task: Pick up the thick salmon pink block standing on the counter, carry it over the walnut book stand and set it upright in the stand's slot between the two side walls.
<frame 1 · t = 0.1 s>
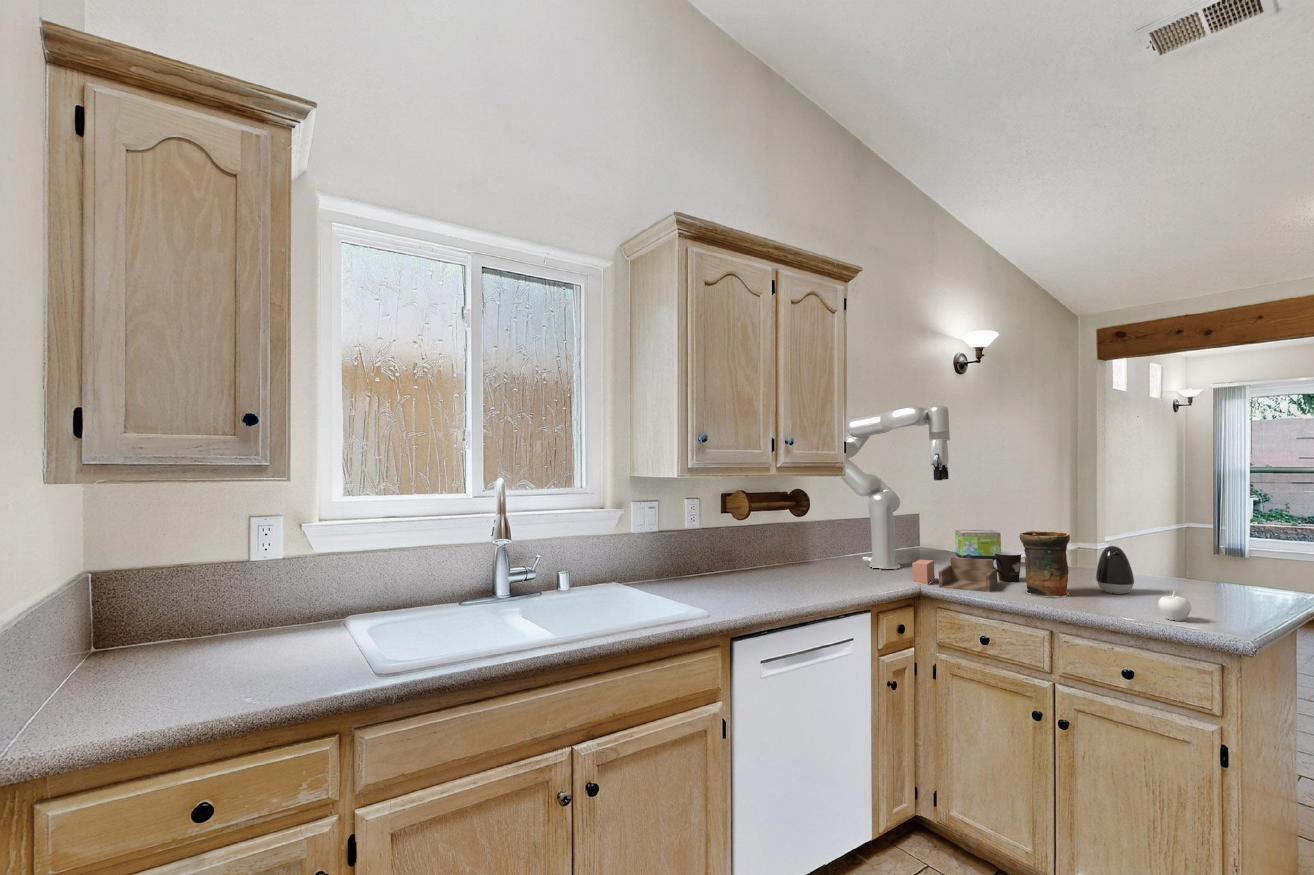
hand: (941, 479, 253), 37 cm above the worktop, tool pointing down, fingers open, 9 cm apart
tea box: (978, 566, 263), on the worktop
salmon pink block: (924, 582, 233), on the worktop
black rounded egg shape: (1115, 593, 208), on the worktop
book stand: (968, 585, 224), on the worktop
coffee mug: (1004, 581, 232), on the worktop
vessel: (1047, 594, 209), on the worktop
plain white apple: (1175, 620, 173), on the worktop
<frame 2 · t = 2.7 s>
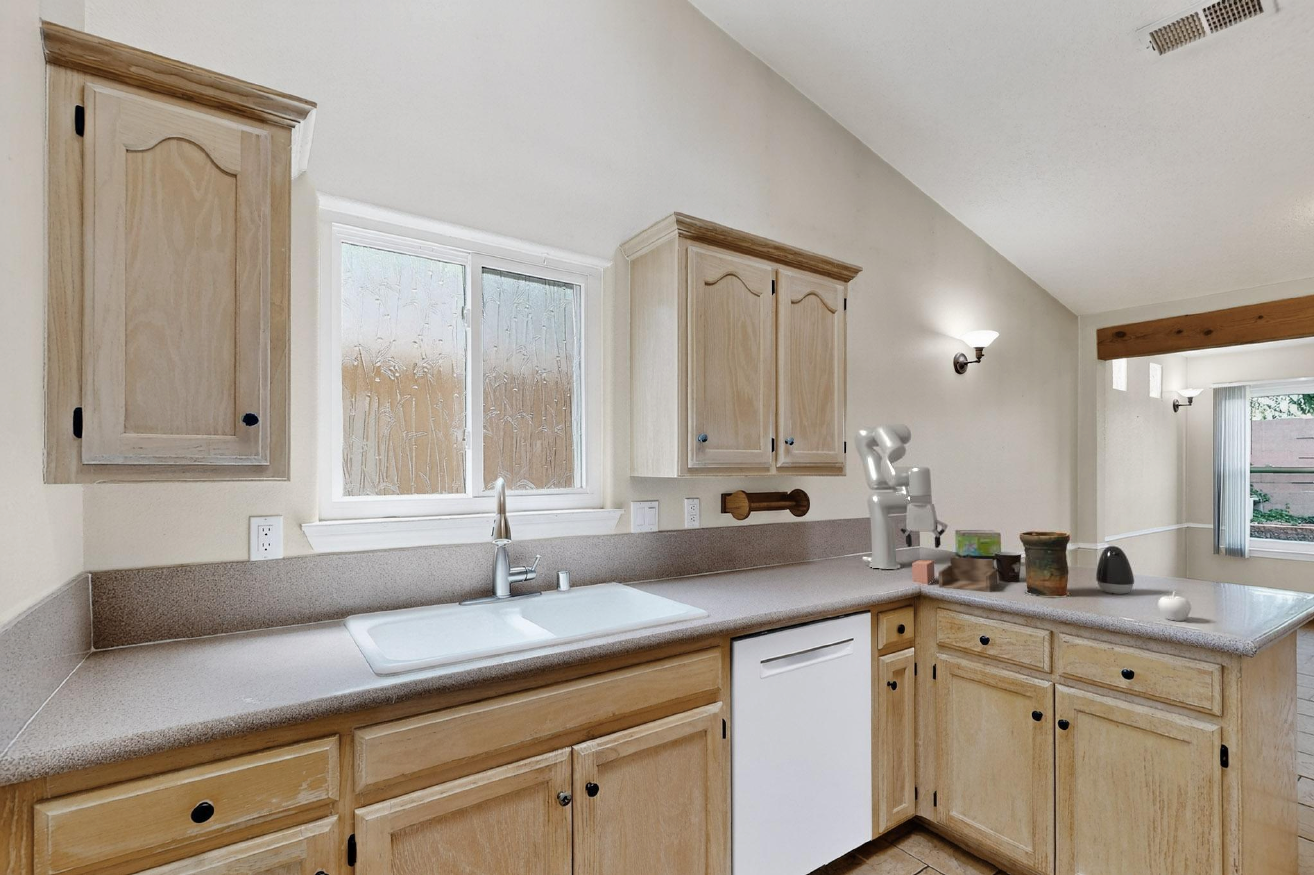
hand: (923, 546, 233), 13 cm above the worktop, tool pointing down, fingers open, 9 cm apart
nothing on the worktop moved.
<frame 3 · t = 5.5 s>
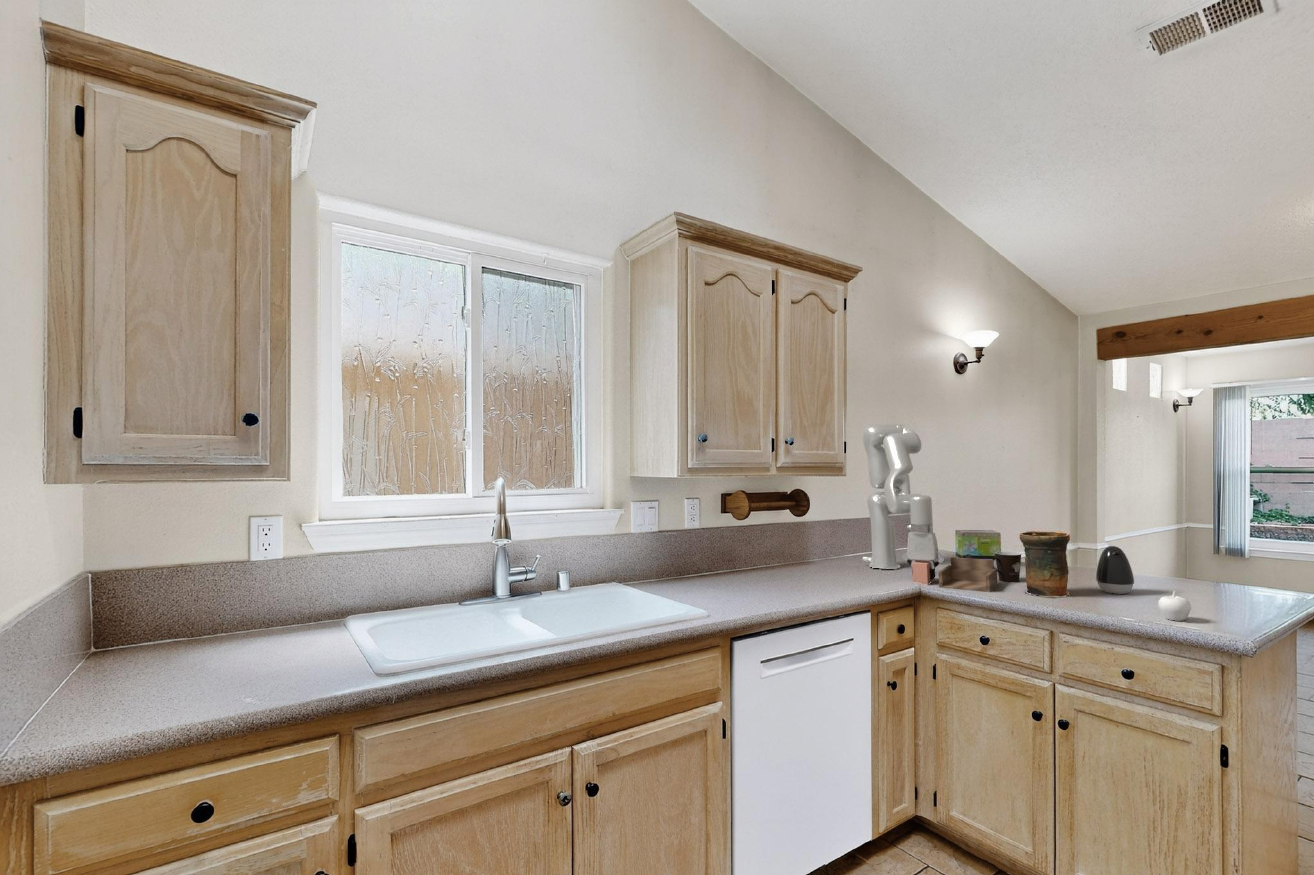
hand: (923, 577, 233), 1 cm above the worktop, tool pointing down, fingers closed on salmon pink block, 5 cm apart
salmon pink block: (924, 582, 233), on the worktop, touching gripper
everything else where it was.
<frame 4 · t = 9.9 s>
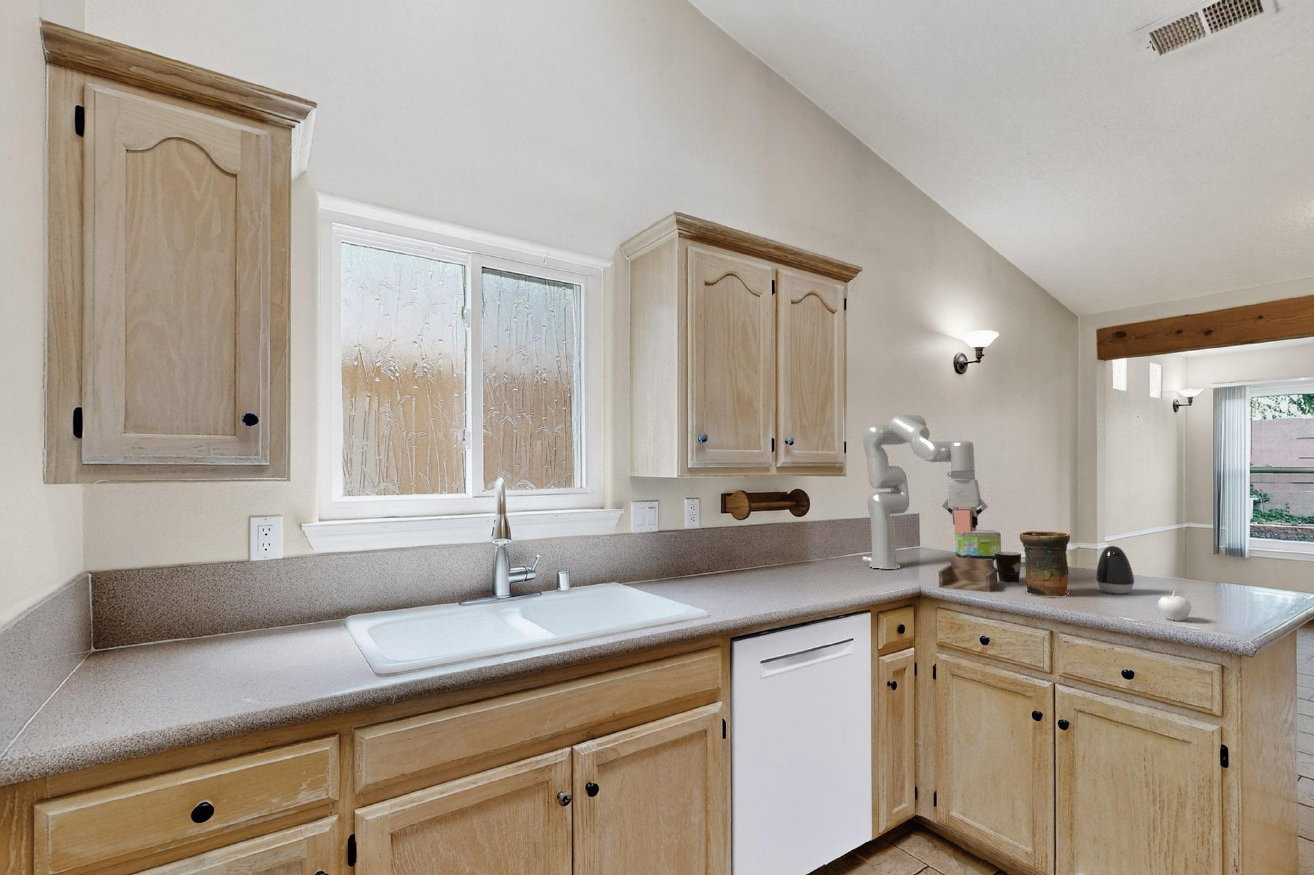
hand: (965, 526, 225), 21 cm above the worktop, tool pointing down, fingers closed on salmon pink block, 4 cm apart
salmon pink block: (965, 530, 225), point 19 cm above the worktop, touching gripper
everything else where it was.
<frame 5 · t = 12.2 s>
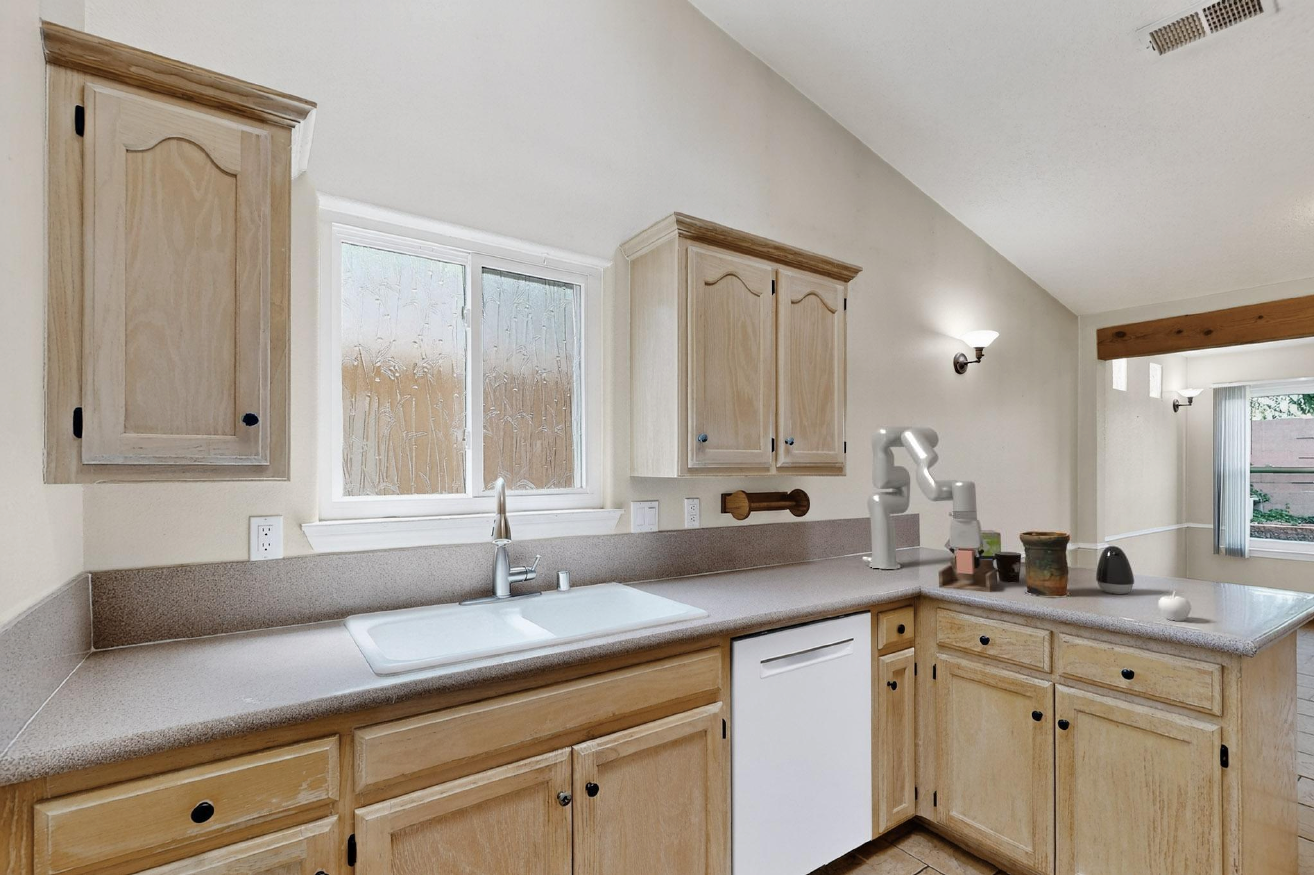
hand: (967, 566, 224), 7 cm above the worktop, tool pointing down, fingers closed on salmon pink block, 4 cm apart
salmon pink block: (967, 571, 224), point 5 cm above the worktop, touching gripper
everything else where it was.
when the fingers open (4 cm above the worktop, at t = 14.1 s): salmon pink block drops 2 cm, resting on book stand.
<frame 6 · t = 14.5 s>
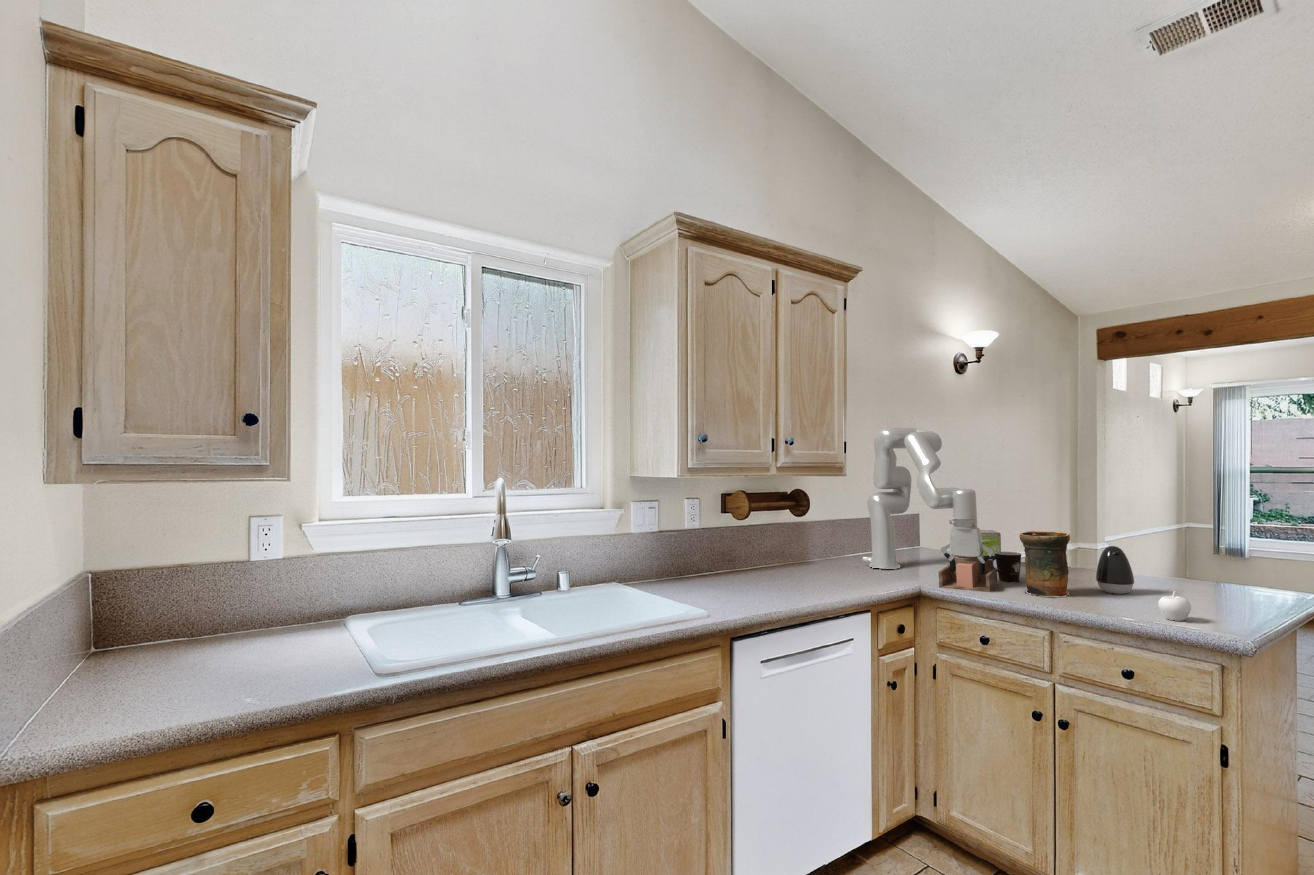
hand: (967, 572, 224), 5 cm above the worktop, tool pointing down, fingers open, 8 cm apart
salmon pink block: (967, 584, 224), point 1 cm above the worktop, touching book stand
everything else where it was.
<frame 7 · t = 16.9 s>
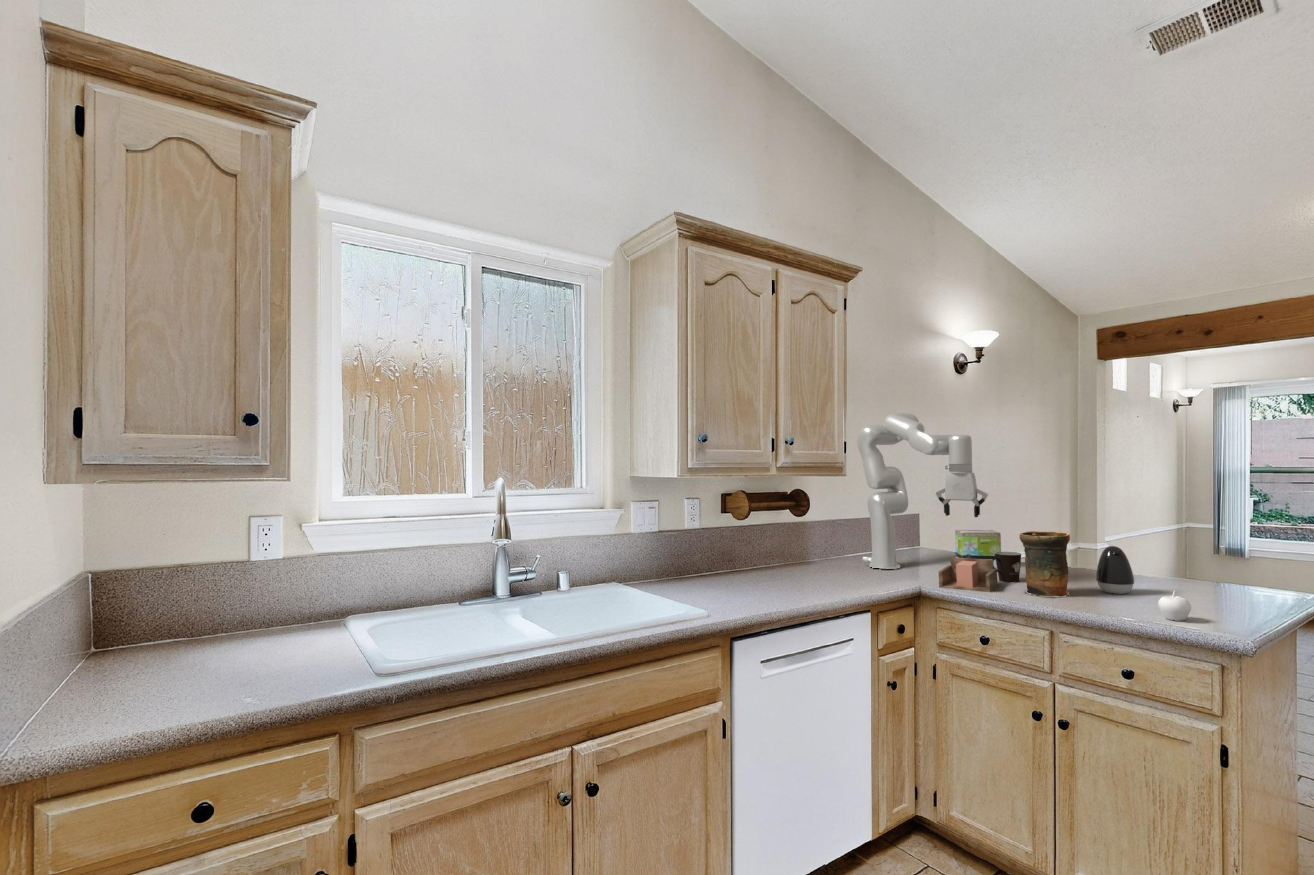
hand: (961, 516, 230), 24 cm above the worktop, tool pointing down, fingers open, 9 cm apart
nothing on the worktop moved.
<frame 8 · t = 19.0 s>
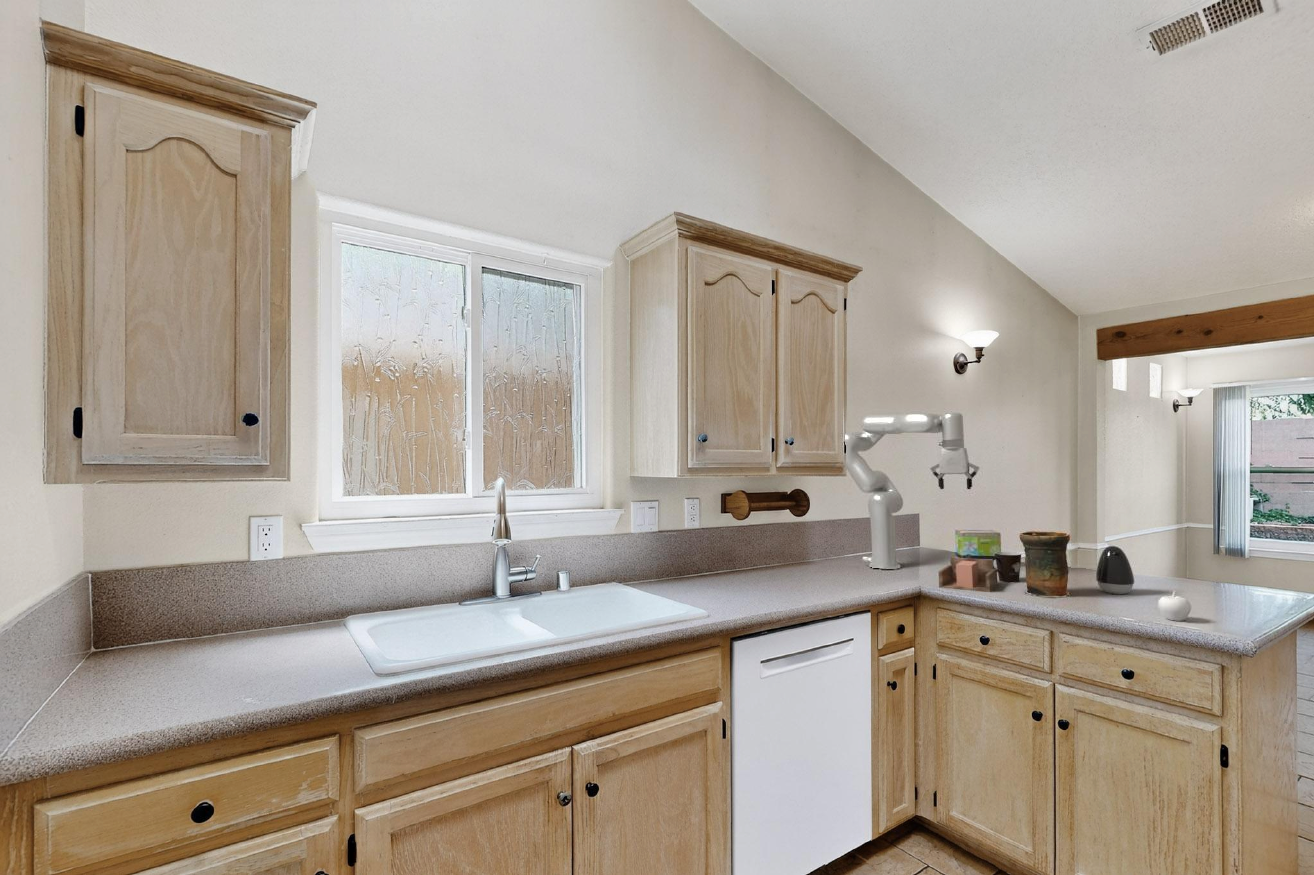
hand: (955, 489, 245), 33 cm above the worktop, tool pointing down, fingers open, 9 cm apart
nothing on the worktop moved.
at the end: salmon pink block 0.1 cm off-centre on the book stand, point 0.6 cm above the book stand's base; salmon pink block tilted 0°; the gripper is holding nothing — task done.
